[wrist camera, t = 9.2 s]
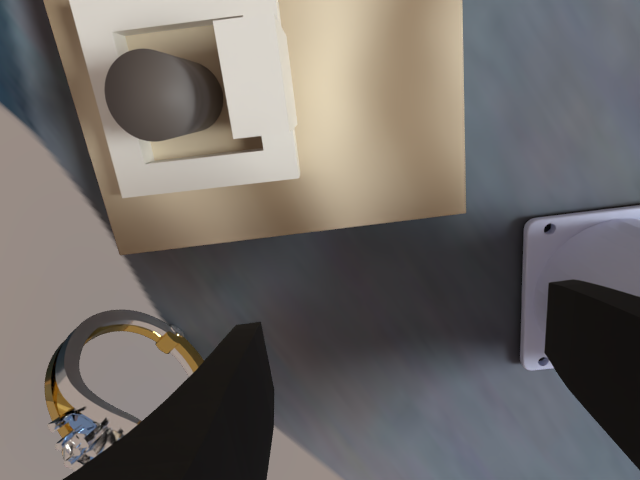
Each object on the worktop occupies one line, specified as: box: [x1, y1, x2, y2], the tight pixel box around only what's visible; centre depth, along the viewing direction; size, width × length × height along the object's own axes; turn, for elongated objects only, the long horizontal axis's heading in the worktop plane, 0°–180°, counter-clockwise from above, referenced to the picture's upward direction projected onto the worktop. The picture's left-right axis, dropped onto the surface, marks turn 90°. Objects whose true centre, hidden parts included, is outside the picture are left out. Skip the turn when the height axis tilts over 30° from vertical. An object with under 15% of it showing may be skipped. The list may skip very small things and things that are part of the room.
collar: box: [69, 0, 300, 198], centre depth 14 cm, size 7×7×5 cm
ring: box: [45, 310, 204, 471], centre depth 17 cm, size 7×3×8 cm, turn 44°
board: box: [43, 0, 466, 255], centre depth 14 cm, size 15×16×6 cm
